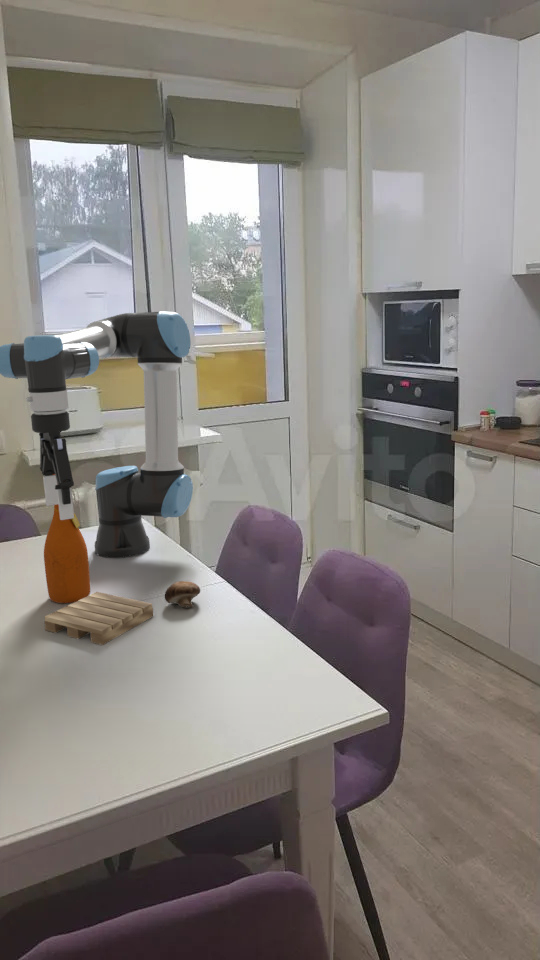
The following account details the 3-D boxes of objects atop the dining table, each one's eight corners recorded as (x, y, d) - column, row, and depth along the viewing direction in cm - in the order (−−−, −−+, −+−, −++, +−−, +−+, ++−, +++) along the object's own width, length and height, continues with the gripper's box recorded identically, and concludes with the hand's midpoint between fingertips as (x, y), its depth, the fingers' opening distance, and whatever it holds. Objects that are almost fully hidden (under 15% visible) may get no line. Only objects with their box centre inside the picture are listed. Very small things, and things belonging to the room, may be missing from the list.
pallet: (98, 603, 170) (97, 591, 169) (153, 616, 162) (152, 603, 161) (45, 630, 156) (43, 616, 156) (102, 645, 148) (101, 631, 147)
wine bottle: (66, 608, 167) (53, 478, 161) (39, 599, 173) (25, 474, 167) (100, 594, 175) (89, 470, 168) (73, 586, 181) (61, 466, 174)
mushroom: (197, 600, 161) (188, 573, 163) (164, 614, 162) (156, 587, 164) (208, 604, 169) (200, 578, 171) (177, 617, 170) (169, 591, 172)
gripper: (19, 407, 162) (30, 501, 166) (43, 420, 140) (54, 528, 145) (54, 404, 165) (63, 497, 170) (83, 416, 143) (92, 522, 148)
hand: (59, 511), depth 157 cm, fingers open, 13 cm apart
